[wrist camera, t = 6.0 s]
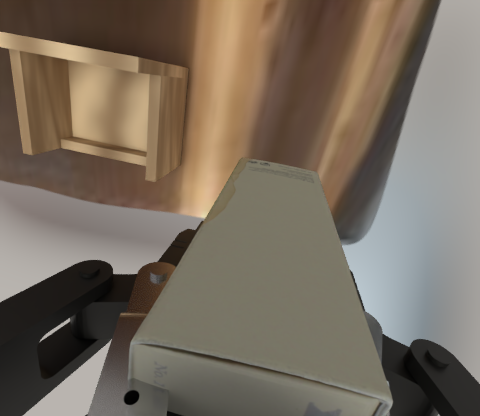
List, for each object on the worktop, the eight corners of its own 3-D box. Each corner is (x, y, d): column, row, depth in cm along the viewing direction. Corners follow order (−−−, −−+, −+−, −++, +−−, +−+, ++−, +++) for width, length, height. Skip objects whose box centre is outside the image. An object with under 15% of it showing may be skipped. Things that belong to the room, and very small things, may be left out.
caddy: (188, 68, 30) (138, 57, 20) (180, 164, 34) (135, 195, 24) (64, 45, 31) (-43, 24, 21) (71, 141, 35) (-16, 162, 25)
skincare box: (240, 154, 16) (117, 320, 4) (322, 171, 15) (409, 396, 4) (224, 252, 18) (119, 511, 7) (294, 268, 18) (300, 569, 7)
